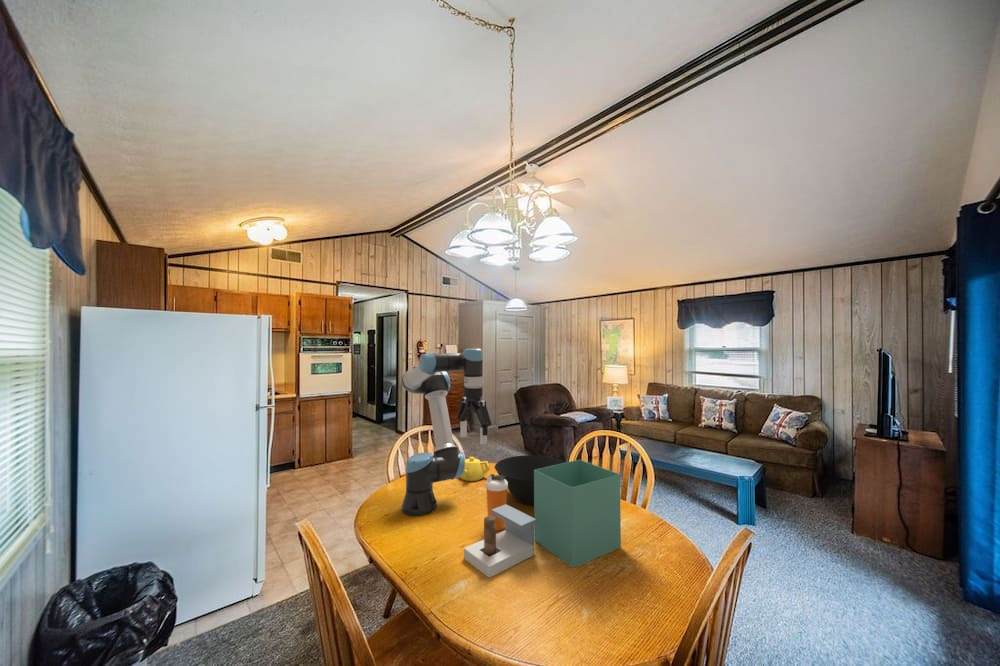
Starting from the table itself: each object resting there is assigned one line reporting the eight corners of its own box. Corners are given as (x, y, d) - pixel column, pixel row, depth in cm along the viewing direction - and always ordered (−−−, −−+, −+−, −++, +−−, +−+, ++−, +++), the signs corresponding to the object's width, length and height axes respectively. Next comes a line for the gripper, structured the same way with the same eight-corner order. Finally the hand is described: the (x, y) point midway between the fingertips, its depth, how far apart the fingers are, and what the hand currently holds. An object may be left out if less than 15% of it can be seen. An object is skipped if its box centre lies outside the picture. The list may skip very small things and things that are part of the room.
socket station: (462, 557, 129) (462, 520, 130) (506, 537, 142) (505, 504, 142) (491, 579, 117) (491, 538, 117) (536, 555, 130) (536, 519, 130)
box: (572, 568, 123) (572, 487, 124) (534, 540, 140) (533, 469, 141) (621, 547, 135) (620, 474, 136) (580, 523, 153) (579, 459, 153)
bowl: (581, 493, 183) (581, 462, 184) (550, 523, 153) (550, 486, 154) (518, 479, 202) (518, 451, 203) (480, 503, 172) (479, 470, 173)
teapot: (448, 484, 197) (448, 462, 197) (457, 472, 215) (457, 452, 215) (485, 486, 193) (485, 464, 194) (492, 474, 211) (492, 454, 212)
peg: (491, 556, 130) (490, 515, 130) (498, 561, 127) (498, 519, 127) (481, 560, 127) (481, 518, 128) (489, 565, 124) (489, 522, 125)
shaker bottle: (505, 532, 146) (505, 480, 146) (483, 530, 148) (483, 479, 148) (509, 522, 154) (509, 473, 155) (488, 520, 156) (488, 471, 157)
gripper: (448, 385, 158) (448, 435, 158) (484, 390, 139) (484, 448, 139) (463, 383, 163) (463, 433, 163) (500, 389, 144) (500, 444, 143)
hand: (473, 440), depth 151 cm, fingers open, 13 cm apart
